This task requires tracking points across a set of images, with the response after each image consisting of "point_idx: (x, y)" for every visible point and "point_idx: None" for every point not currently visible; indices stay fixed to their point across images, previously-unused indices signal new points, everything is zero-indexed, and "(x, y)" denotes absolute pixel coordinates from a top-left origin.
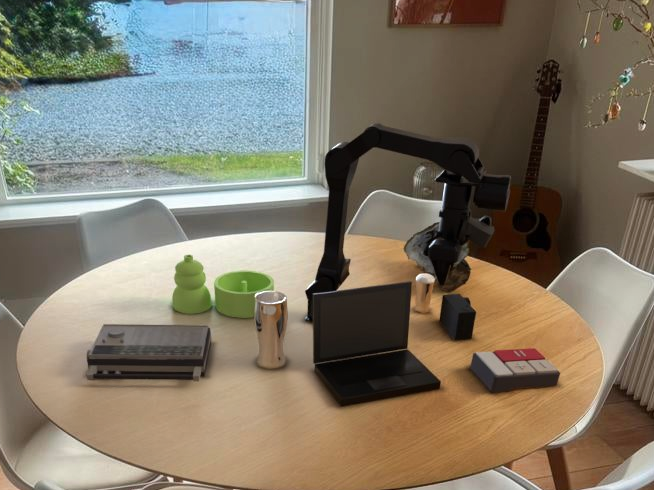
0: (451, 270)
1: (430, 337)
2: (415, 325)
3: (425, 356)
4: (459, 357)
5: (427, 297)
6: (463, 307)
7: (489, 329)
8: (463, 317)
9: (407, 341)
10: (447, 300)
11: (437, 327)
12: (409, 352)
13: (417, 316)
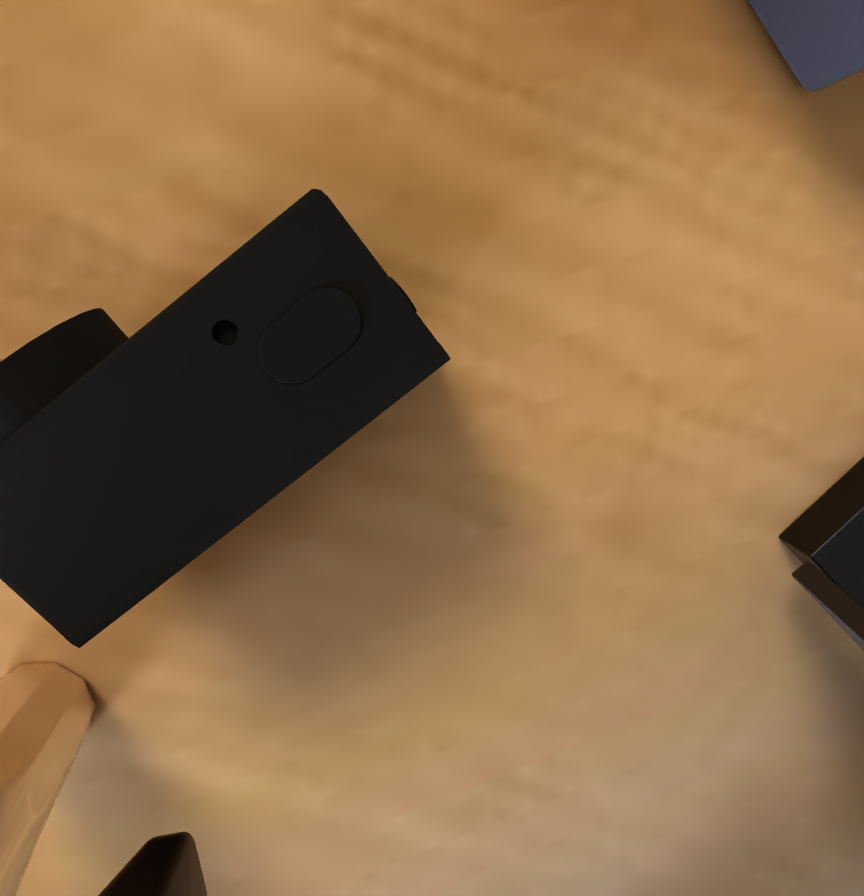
0: (188, 836)
1: (450, 499)
2: (318, 648)
3: (735, 435)
4: (664, 216)
5: (17, 748)
6: (295, 353)
7: (57, 116)
8: (411, 304)
9: (842, 590)
10: (188, 563)
11: (266, 510)
12: (856, 530)
13: (167, 689)
